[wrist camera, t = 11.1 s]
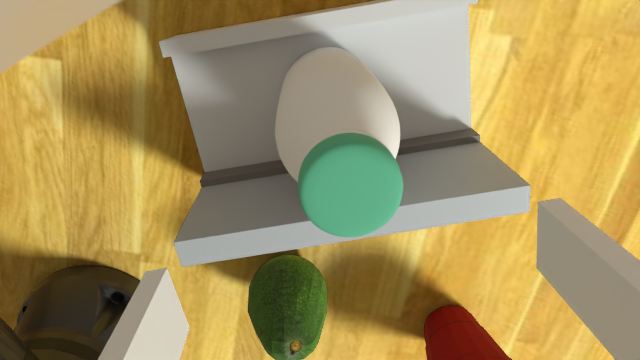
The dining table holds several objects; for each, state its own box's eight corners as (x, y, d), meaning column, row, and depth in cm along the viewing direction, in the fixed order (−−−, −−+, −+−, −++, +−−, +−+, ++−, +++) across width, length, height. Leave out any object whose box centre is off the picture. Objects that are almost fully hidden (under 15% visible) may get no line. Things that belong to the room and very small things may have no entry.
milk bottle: (270, 60, 36) (234, 133, 17) (362, 34, 35) (425, 81, 17) (296, 147, 39) (290, 287, 20) (382, 124, 38) (454, 247, 20)
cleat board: (217, 184, 43) (181, 267, 30) (175, 35, 38) (110, 59, 25) (461, 144, 43) (529, 212, 30) (455, -14, 37) (537, -16, 24)
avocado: (329, 294, 49) (336, 382, 38) (259, 302, 49) (246, 392, 38) (320, 232, 46) (326, 309, 35) (246, 241, 46) (228, 320, 35)
